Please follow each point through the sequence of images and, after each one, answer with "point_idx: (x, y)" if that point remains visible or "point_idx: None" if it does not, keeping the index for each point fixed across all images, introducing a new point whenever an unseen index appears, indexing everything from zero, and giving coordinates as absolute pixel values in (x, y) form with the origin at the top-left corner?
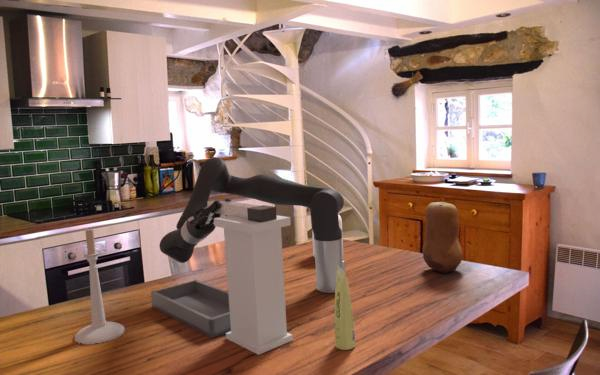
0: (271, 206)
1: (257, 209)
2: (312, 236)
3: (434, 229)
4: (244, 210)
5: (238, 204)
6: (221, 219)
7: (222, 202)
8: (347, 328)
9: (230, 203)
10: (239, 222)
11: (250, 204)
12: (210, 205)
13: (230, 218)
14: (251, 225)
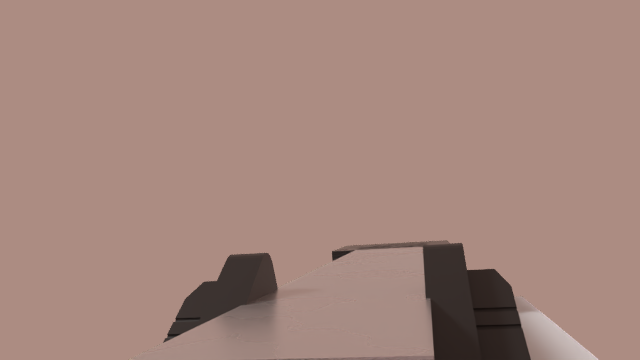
0: (344, 247)
1: (442, 241)
2: None
3: None
4: None
5: (384, 260)
6: (583, 354)
7: (379, 284)
8: None
9: (382, 269)
10: (529, 314)
11: (343, 256)
12: (525, 347)
13: None
14: (519, 297)
